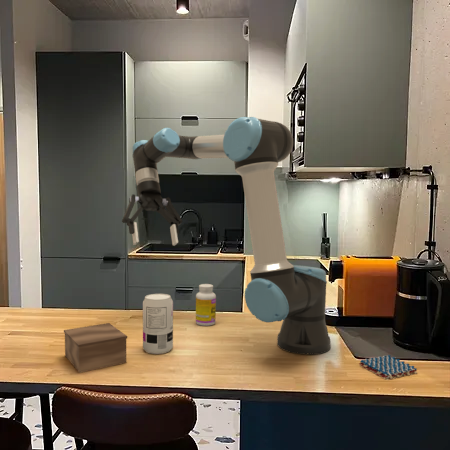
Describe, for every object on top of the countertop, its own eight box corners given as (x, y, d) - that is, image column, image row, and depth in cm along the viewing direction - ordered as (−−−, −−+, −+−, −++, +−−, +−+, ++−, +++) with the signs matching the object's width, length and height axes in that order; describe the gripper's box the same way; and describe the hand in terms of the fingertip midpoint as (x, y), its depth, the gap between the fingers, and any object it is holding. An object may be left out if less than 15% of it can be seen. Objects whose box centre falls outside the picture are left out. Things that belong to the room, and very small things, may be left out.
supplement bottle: (213, 327, 149) (213, 288, 148) (193, 325, 150) (193, 287, 149) (217, 321, 156) (217, 283, 154) (198, 319, 157) (198, 282, 156)
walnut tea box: (127, 362, 118) (127, 336, 118) (78, 373, 111) (78, 344, 111) (109, 347, 129) (109, 322, 129) (64, 355, 122) (63, 330, 122)
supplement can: (136, 349, 128) (136, 296, 127) (160, 342, 134) (160, 291, 133) (155, 357, 122) (155, 301, 121) (178, 349, 128) (179, 296, 127)
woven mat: (356, 366, 119) (356, 359, 119) (388, 361, 123) (388, 353, 123) (386, 382, 109) (386, 374, 109) (419, 375, 114) (419, 367, 114)
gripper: (176, 192, 164) (185, 248, 156) (108, 186, 150) (114, 247, 143) (186, 182, 158) (195, 240, 150) (115, 175, 144) (122, 238, 137)
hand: (156, 243), depth 146 cm, fingers open, 13 cm apart
